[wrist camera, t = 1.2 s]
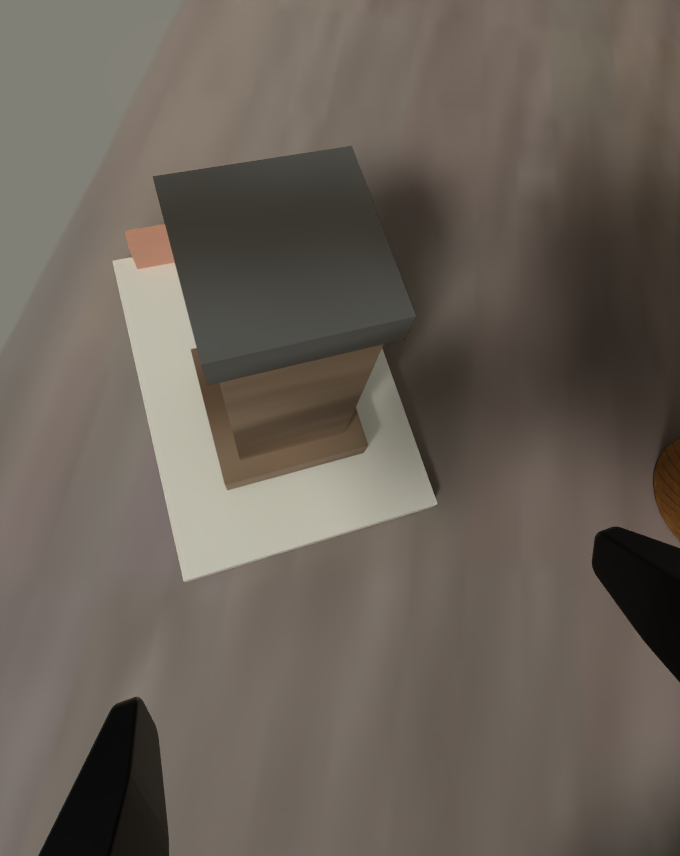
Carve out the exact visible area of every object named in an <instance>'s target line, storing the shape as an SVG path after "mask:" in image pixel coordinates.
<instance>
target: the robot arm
mask: <svg viewBox="0 0 680 856" xmlns="http://www.w3.org/2000/svg"><path fill="white" fill-rule="evenodd" d="M592 567H593V570H594V572H595V574H596V576H597V577H598V579H599V580H600V581H601V583H602V584H603V586H604V587H605V588H606V590H607V591H608V592H609V594H610V595H611V597H612V598H613V599H614V601H615V602H616V604H617V605H618V606H619V608H620V609H621V610H622V612H623V613H624V615H625V616H626V617H627V619H628V620H629V622H630V623H631V624H632V626H633V627H634V628H635V630H636V631H637V632H638V634H639V635H640V636H641V638H642V639H643V640H644V642H645V643H646V644H647V645H648V646H649V647H650V649H651V650H652V651H653V652H654V653H655V655H656V656H657V657H658V658H659V659H660V660H661V661H662V663H663V664H664V665H665V666H666V667H667V668H668V669H669V671H670V672H671V673H672V674H673V675H674V676H675V677H676V679H677V680H678V681H679V682H680V548H678V547H675V546H672V545H669V544H666V543H663V542H661V541H658V540H655V539H652V538H649V537H646V536H644V535H641V534H638V533H635V532H632V531H629V530H627V529H624V528H621V527H611V528H608V529H605V530H602V531H600V532H598V533H597V534H596V536H595V540H594V548H593V556H592ZM38 856H169V836H168V825H167V814H166V804H165V795H164V785H163V776H162V766H161V756H160V747H159V738H158V732H157V729H156V726H155V723H154V721H153V720H152V718H151V716H150V714H149V712H148V710H147V708H146V706H145V704H144V702H143V701H142V699H141V698H139V697H134V698H131V699H128V700H125V701H123V702H120V703H117V704H116V705H114V706H113V707H112V709H111V710H110V712H109V714H108V716H107V718H106V720H105V722H104V724H103V726H102V728H101V730H100V732H99V734H98V736H97V738H96V740H95V742H94V744H93V746H92V749H91V751H90V753H89V755H88V757H87V759H86V761H85V763H84V765H83V767H82V769H81V771H80V773H79V775H78V777H77V779H76V781H75V783H74V785H73V787H72V789H71V791H70V793H69V795H68V797H67V799H66V801H65V803H64V805H63V807H62V809H61V811H60V813H59V815H58V817H57V819H56V821H55V823H54V825H53V827H52V829H51V831H50V833H49V835H48V837H47V839H46V841H45V843H44V845H43V847H42V849H41V851H40V853H39V855H38Z"/></svg>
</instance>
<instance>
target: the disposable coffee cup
mask: <svg viewBox="0 0 680 856" xmlns="http://www.w3.org/2000/svg"><path fill="white" fill-rule="evenodd" d="M654 491H655V497H656V502H657V505H658V507H659V510H660V513H661V515H662V517H663V519H664V521H665V523H666V524H667V525H668V527H669V528H670V530H671V531H672V533H673V534H674V535H675V536H676V537H677V538H678V539H679V540H680V438H679V439H677V440H675V441H674V442H672V443H671V444H669V446H668V447H667V448H666V449H665V450H664V451H663V452H662V454H661V456H660V458H659V460H658V461H657V465H656V468H655V472H654Z"/></svg>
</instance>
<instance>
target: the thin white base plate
mask: <svg viewBox="0 0 680 856" xmlns="http://www.w3.org/2000/svg"><path fill="white" fill-rule="evenodd" d="M125 234H126V238H127V242H128V247H129V250H130V253H131V255H132V257H131V258H125V259H120V260H114V261H113V265H114V270H115V274H116V279H117V283H118V288H119V292H120V297H121V301H122V306H123V310H124V315H125V319H126V324H127V328H128V333H129V337H130V342H131V346H132V351H133V355H134V360H135V364H136V369H137V373H138V378H139V382H140V387H141V391H142V396H143V400H144V405H145V409H146V414H147V418H148V423H149V427H150V432H151V436H152V441H153V445H154V450H155V454H156V459H157V463H158V468H159V473H160V477H161V482H162V486H163V491H164V495H165V500H166V504H167V509H168V513H169V518H170V522H171V527H172V531H173V536H174V540H175V545H176V549H177V554H178V558H179V563H180V567H181V572H182V576H183V581H185V582H189V581H192V580H195V579H198V578H202V577H205V576H208V575H212V574H215V573H218V572H221V571H225V570H228V569H231V568H235V567H238V566H241V565H244V564H248V563H251V562H254V561H258V560H261V559H264V558H267V557H271V556H274V555H277V554H281V553H284V552H287V551H290V550H294V549H297V548H300V547H304V546H307V545H310V544H313V543H317V542H320V541H323V540H327V539H330V538H333V537H336V536H340V535H343V534H346V533H350V532H353V531H356V530H359V529H363V528H366V527H369V526H372V525H376V524H379V523H382V522H386V521H389V520H392V519H395V518H399V517H402V516H405V515H409V514H412V513H415V512H418V511H422V510H425V509H428V508H431V507H433V506H435V505H437V501H436V498H435V495H434V493H433V490H432V487H431V484H430V481H429V478H428V476H427V473H426V470H425V467H424V464H423V462H422V459H421V456H420V453H419V450H418V447H417V445H416V442H415V439H414V436H413V433H412V431H411V428H410V425H409V422H408V419H407V416H406V414H405V411H404V408H403V405H402V402H401V399H400V397H399V394H398V391H397V388H396V385H395V383H394V380H393V377H392V374H391V371H390V368H389V366H388V363H387V360H386V357H385V354H384V351H383V349H381V352H380V354H379V356H378V358H377V361H376V363H375V365H374V367H373V370H372V372H371V374H370V376H369V379H368V381H367V383H366V385H365V388H364V390H363V392H362V394H361V397H360V399H359V401H358V403H357V406H356V409H357V412H358V415H359V419H360V422H361V425H362V428H363V431H364V434H365V437H366V440H367V443H368V447H367V449H366V450H365V452H364V453H362V454H358V455H355V456H351V457H347V458H344V459H340V460H336V461H333V462H329V463H325V464H322V465H318V466H315V467H311V468H307V469H304V470H300V471H296V472H293V473H289V474H285V475H282V476H278V477H275V478H271V479H267V480H264V481H260V482H256V483H253V484H249V485H245V486H242V487H238V488H235V489H231V490H227V489H226V486H225V484H224V480H223V476H222V472H221V468H220V464H219V460H218V456H217V452H216V448H215V444H214V440H213V436H212V432H211V428H210V424H209V420H208V416H207V412H206V408H205V405H204V401H203V397H202V393H201V389H200V385H199V381H198V377H197V373H196V369H195V365H194V361H193V357H192V353H191V349H194V348H197V347H196V343H195V340H194V336H193V332H192V328H191V324H190V320H189V316H188V312H187V308H186V304H185V300H184V297H183V293H182V289H181V285H180V281H179V277H178V273H177V269H176V265H175V261H174V258H173V254H172V250H171V246H170V242H169V238H168V234H167V230H166V226H165V224H162V225H156V226H150V227H144V228H138V229H133V230H127V231H125Z"/></svg>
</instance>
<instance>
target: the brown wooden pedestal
mask: <svg viewBox="0 0 680 856" xmlns="http://www.w3.org/2000/svg"><path fill="white" fill-rule="evenodd" d="M153 179H154V183H155V187H156V191H157V195H158V199H159V203H160V207H161V211H162V215H163V219H164V222H165V226H166V230H167V234H168V238H169V242H170V246H171V250H172V254H173V258H174V261H175V265H176V269H177V273H178V277H179V281H180V285H181V289H182V293H183V297H184V300H185V304H186V308H187V312H188V316H189V320H190V324H191V328H192V332H193V336H194V340H195V343H196V347H197V348H194V349H191V353H192V357H193V361H194V365H195V369H196V373H197V377H198V381H199V385H200V389H201V393H202V397H203V401H204V405H205V408H206V412H207V416H208V420H209V424H210V428H211V432H212V436H213V440H214V444H215V448H216V452H217V456H218V460H219V464H220V468H221V472H222V476H223V480H224V484H225V486H226V489H227V490H231V489H235V488H238V487H242V486H245V485H249V484H253V483H256V482H260V481H264V480H267V479H271V478H275V477H278V476H282V475H285V474H289V473H293V472H296V471H300V470H304V469H307V468H311V467H315V466H318V465H322V464H325V463H329V462H333V461H336V460H340V459H344V458H347V457H351V456H355V455H358V454H362V453H364V452H365V450H366V449H367V447H368V443H367V440H366V437H365V434H364V431H363V428H362V425H361V422H360V419H359V415H358V412H357V409H356V406H357V403H358V401H359V399H360V397H361V394H362V392H363V390H364V388H365V385H366V383H367V381H368V379H369V376H370V374H371V372H372V370H373V367H374V365H375V363H376V361H377V358H378V356H379V354H380V352H381V349H382V347H383V345H384V344H387V343H392V342H396V341H400V340H404V339H405V337H406V335H407V333H408V331H409V329H410V327H411V325H412V323H413V321H414V320H415V318H416V314H415V312H414V309H413V306H412V304H411V301H410V299H409V296H408V293H407V291H406V288H405V285H404V283H403V280H402V277H401V275H400V272H399V269H398V267H397V264H396V262H395V259H394V256H393V254H392V251H391V248H390V246H389V243H388V240H387V238H386V235H385V232H384V230H383V227H382V225H381V222H380V219H379V217H378V214H377V211H376V209H375V206H374V203H373V201H372V198H371V195H370V193H369V190H368V188H367V185H366V182H365V180H364V177H363V174H362V172H361V169H360V166H359V164H358V161H357V159H356V156H355V153H354V151H353V148H352V146H348V147H342V148H335V149H329V150H322V151H316V152H309V153H303V154H296V155H290V156H283V157H277V158H270V159H264V160H257V161H251V162H244V163H238V164H231V165H225V166H218V167H212V168H205V169H199V170H192V171H186V172H179V173H173V174H166V175H160V176H153Z"/></svg>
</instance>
